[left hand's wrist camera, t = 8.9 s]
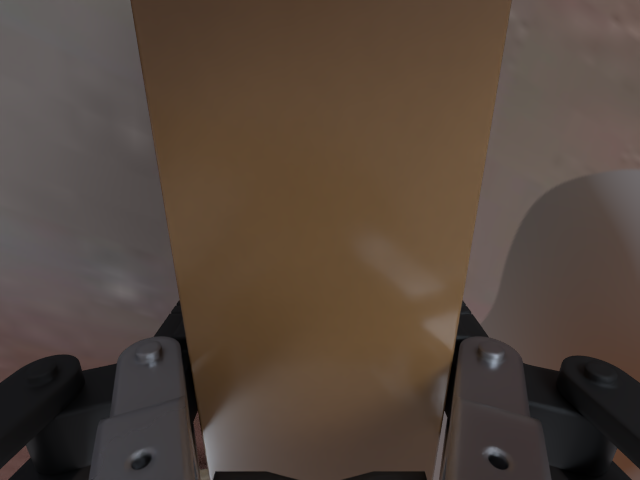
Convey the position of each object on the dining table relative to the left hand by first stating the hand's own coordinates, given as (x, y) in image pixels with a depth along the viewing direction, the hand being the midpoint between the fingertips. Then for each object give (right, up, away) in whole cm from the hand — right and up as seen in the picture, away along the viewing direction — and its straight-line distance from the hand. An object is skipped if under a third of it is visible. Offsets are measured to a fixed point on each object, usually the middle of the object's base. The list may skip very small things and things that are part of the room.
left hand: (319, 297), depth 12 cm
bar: (0, +9, 0) cm, 9 cm away
